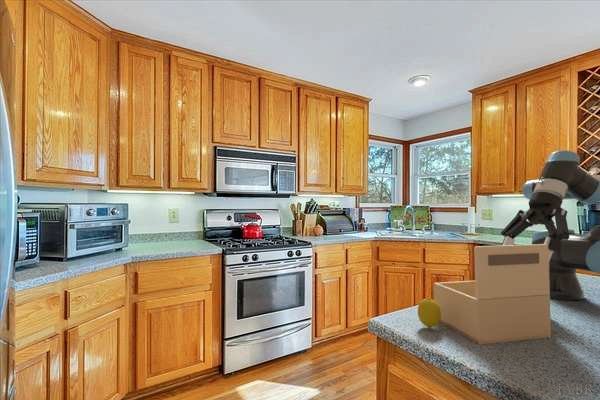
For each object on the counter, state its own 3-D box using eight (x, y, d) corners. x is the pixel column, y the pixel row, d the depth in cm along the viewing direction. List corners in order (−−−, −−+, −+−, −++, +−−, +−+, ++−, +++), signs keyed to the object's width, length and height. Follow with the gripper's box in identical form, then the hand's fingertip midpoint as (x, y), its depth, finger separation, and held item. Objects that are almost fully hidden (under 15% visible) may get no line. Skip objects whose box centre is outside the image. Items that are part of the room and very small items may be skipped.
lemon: (431, 334, 71) (430, 301, 72) (413, 326, 76) (412, 296, 76) (446, 330, 74) (445, 298, 74) (427, 322, 79) (427, 293, 79)
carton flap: (546, 293, 71) (544, 244, 71) (550, 294, 70) (549, 244, 70) (475, 298, 67) (474, 246, 67) (478, 299, 66) (477, 246, 66)
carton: (494, 313, 85) (493, 279, 86) (551, 336, 70) (549, 295, 70) (434, 318, 82) (433, 282, 82) (479, 344, 66) (478, 300, 66)
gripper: (504, 195, 101) (480, 249, 98) (581, 183, 76) (552, 255, 73) (522, 206, 101) (498, 260, 98) (604, 198, 77) (576, 269, 74)
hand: (521, 258), depth 86 cm, fingers open, 13 cm apart
